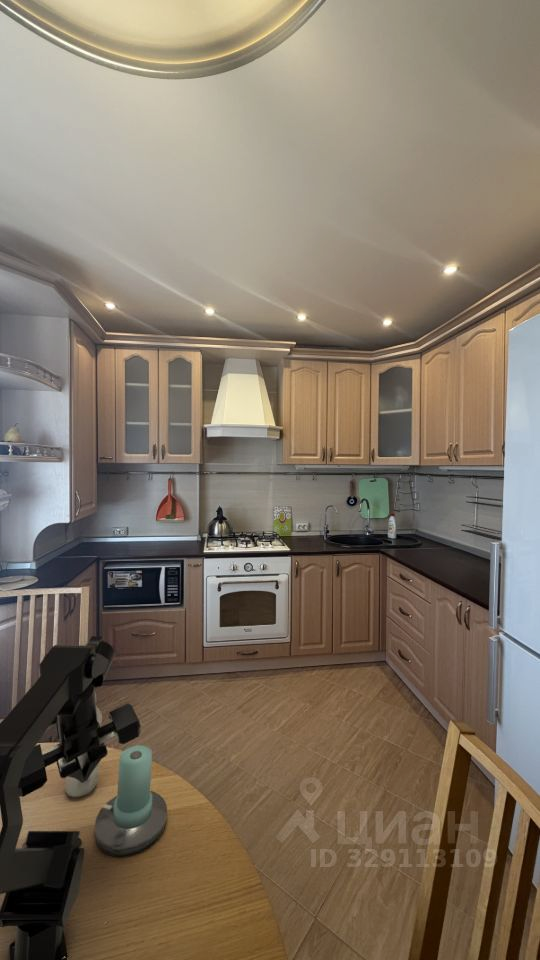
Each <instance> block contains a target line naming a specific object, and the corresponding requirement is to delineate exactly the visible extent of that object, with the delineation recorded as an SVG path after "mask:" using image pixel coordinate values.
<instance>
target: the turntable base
mask: <svg viewBox="0 0 540 960" xmlns="http://www.w3.org/2000/svg"><path fill="white" fill-rule="evenodd" d="M164 828H165V826H164V827H163V828H162V830H161V831H160V833H159V834H158V835H157V836H156V837H155V838H154V839H153V840H151V841H150V842H148V843H147V844H145V845H143V846H141V847H139V848H136V849H132V850H127V851H115V850H111V849H108V848H106V847H104V846H102V845H101V844H100V843H99V842H98V840H97V838H96V837H95V838H96V844H97V847H99V849H100V850H101V851H102V852H103V853H105V855H109V856H112V857H115V858H124V857H125V858H126V857H131V856H135V855H138V854H140V853H142V852H144V851H146V850H147V849H149V848H150V847H152V846H153V845H154V844H155V843H156V842H157V841H158V839H159V838H161V835H162V834H163V832H164V830H165V829H164Z"/></svg>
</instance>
